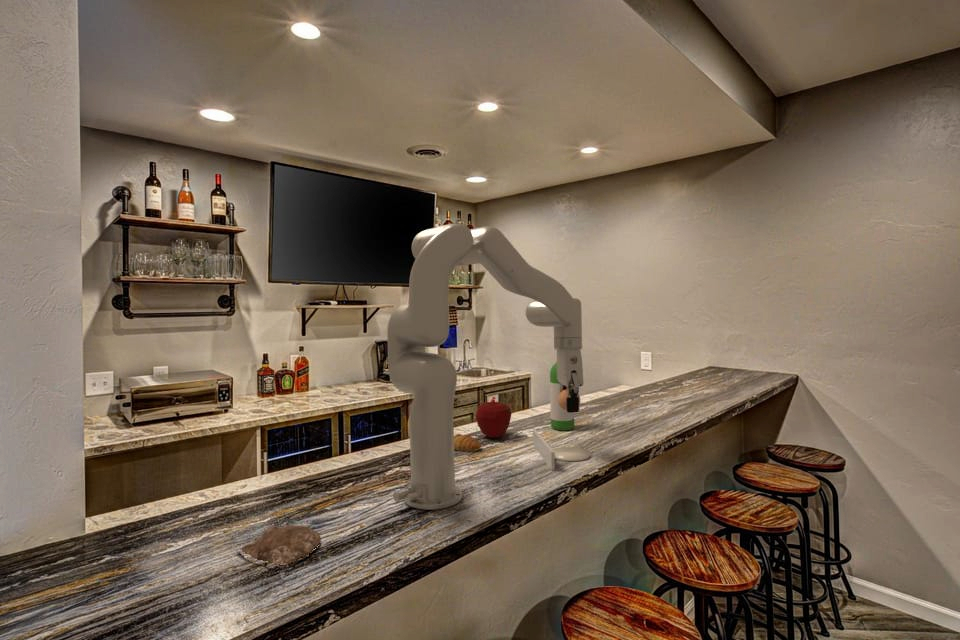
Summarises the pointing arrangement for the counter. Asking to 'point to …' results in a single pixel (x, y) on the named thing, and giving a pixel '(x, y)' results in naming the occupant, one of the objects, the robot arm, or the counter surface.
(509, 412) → the apple
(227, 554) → the counter surface
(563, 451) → the saucer
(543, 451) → the wall
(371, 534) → the counter surface
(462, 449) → the pastry
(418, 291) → the robot arm
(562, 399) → the ball
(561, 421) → the wine bottle
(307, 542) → the shell
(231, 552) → the counter surface
